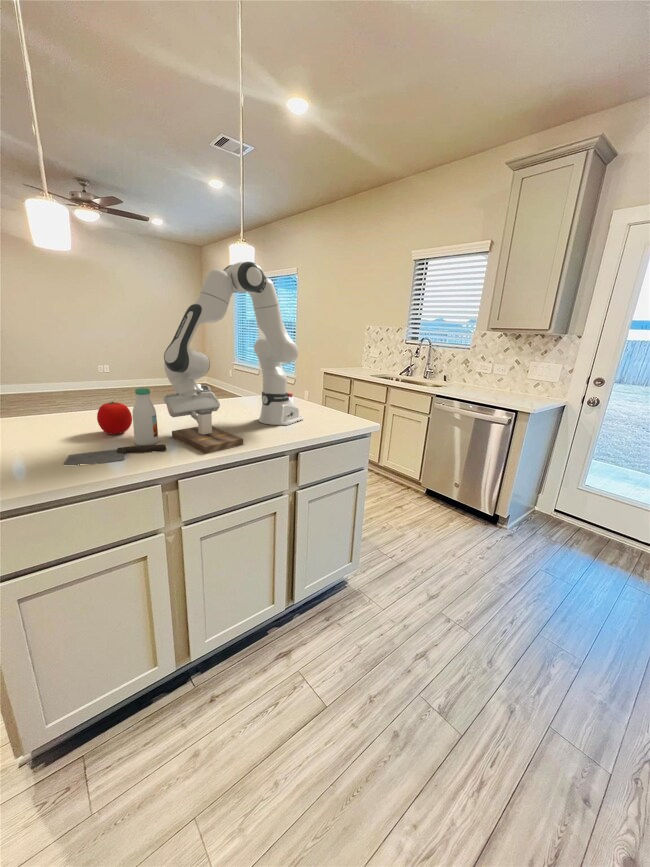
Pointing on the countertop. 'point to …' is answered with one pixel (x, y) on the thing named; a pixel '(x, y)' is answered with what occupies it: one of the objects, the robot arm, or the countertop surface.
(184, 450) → the countertop surface
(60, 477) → the countertop surface
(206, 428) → the white lidded container
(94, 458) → the cleaver
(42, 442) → the countertop surface
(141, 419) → the milk bottle
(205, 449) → the wooden cutting board
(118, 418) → the tomato
